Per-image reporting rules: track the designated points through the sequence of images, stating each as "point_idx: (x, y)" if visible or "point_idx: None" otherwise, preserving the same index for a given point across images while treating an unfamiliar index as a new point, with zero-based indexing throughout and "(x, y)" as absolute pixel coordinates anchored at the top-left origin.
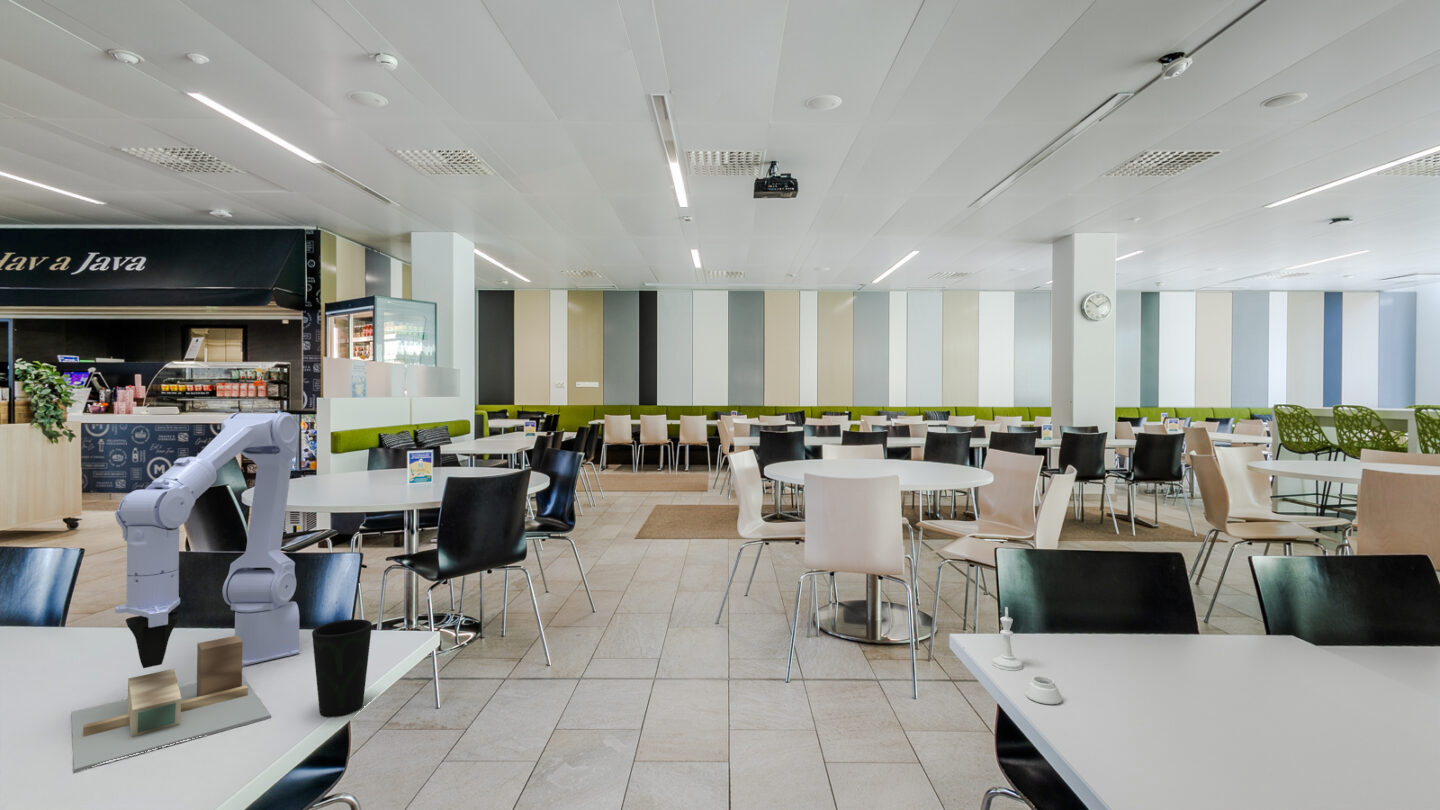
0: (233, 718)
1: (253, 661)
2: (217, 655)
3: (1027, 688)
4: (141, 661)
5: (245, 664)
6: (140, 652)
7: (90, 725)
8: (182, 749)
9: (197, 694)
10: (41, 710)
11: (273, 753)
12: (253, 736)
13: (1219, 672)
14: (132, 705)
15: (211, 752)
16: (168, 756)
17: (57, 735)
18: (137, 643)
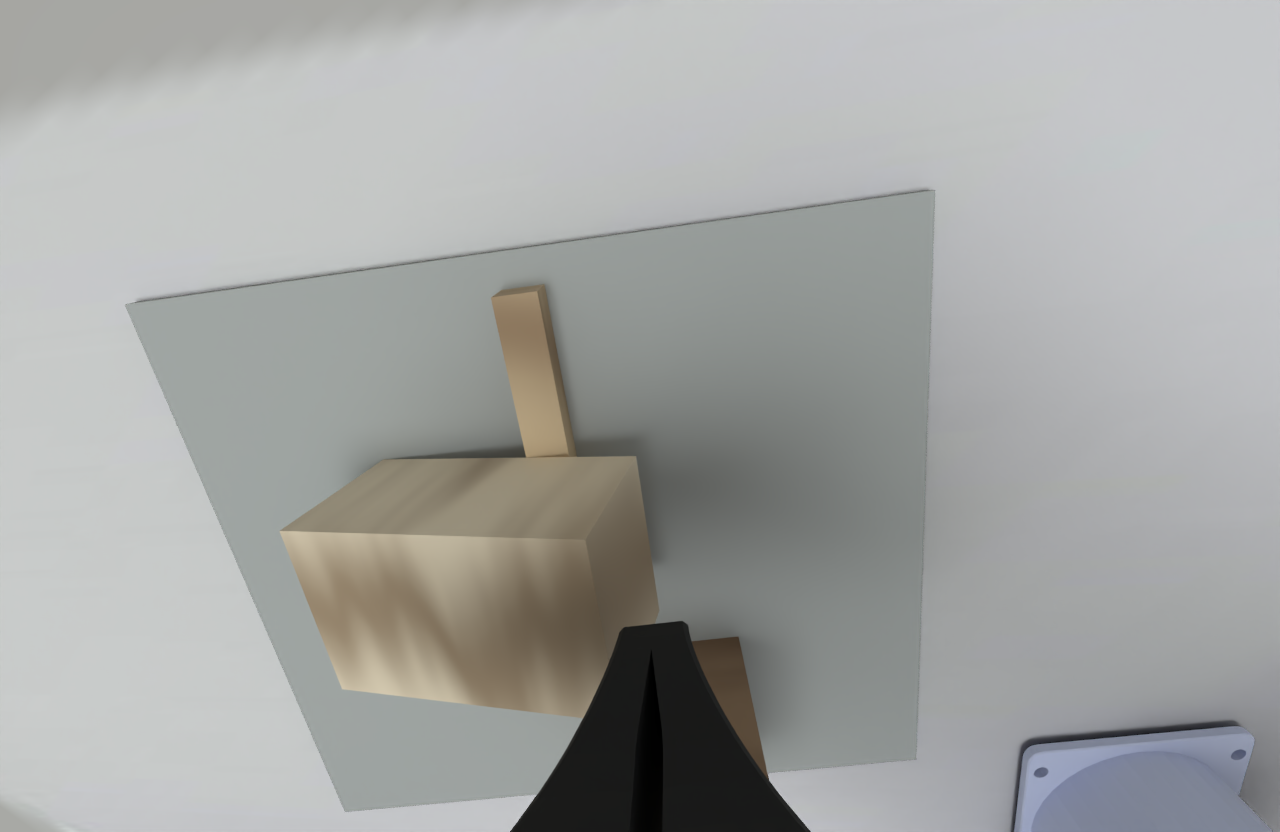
0: (378, 729)
1: (1024, 800)
2: None
3: None
4: (614, 656)
5: (1022, 774)
6: (589, 714)
7: (506, 322)
8: (198, 599)
9: (714, 648)
10: (1149, 24)
11: (44, 792)
12: (209, 759)
13: None
14: (318, 533)
15: (128, 667)
16: (153, 566)
17: (647, 173)
18: (548, 783)
